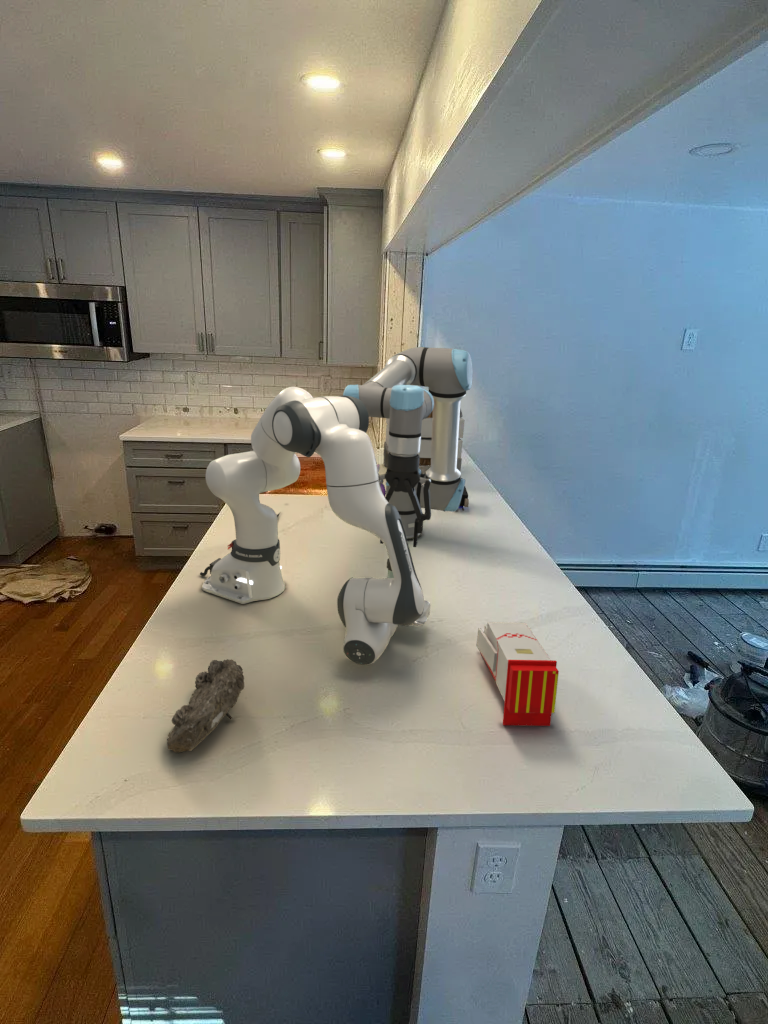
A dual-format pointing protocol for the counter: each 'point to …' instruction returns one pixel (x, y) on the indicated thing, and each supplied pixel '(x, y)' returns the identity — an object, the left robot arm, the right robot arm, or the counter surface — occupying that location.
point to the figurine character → (464, 499)
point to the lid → (388, 565)
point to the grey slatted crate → (428, 442)
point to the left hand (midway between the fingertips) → (396, 591)
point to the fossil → (206, 705)
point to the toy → (520, 672)
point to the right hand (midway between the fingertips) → (398, 543)
